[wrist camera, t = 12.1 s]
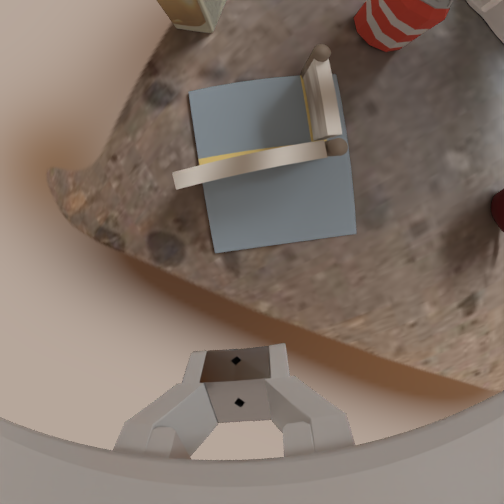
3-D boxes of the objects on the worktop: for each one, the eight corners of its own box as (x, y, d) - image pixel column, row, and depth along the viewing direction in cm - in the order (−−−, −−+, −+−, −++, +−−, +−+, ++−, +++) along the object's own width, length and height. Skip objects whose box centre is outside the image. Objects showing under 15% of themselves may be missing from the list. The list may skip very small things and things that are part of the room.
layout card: (189, 92, 26) (188, 91, 26) (335, 74, 25) (336, 73, 25) (215, 252, 31) (214, 253, 31) (355, 232, 30) (356, 233, 30)
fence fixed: (299, 69, 25) (311, 44, 18) (313, 68, 25) (328, 44, 18) (314, 157, 28) (331, 156, 21) (327, 156, 28) (348, 155, 21)
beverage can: (380, 62, 25) (436, 23, 13) (341, 20, 23) (378, -36, 12) (411, 41, 23) (468, 5, 12) (375, 2, 22) (418, -48, 11)
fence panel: (309, 144, 27) (323, 140, 21) (312, 158, 28) (327, 157, 22) (189, 170, 28) (172, 172, 22) (192, 183, 28) (176, 189, 22)
